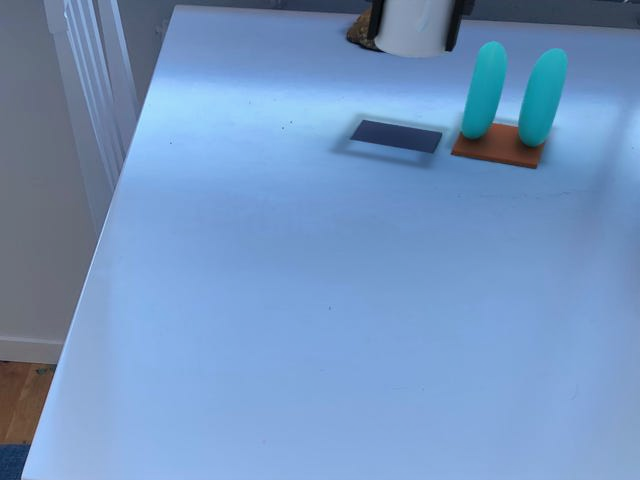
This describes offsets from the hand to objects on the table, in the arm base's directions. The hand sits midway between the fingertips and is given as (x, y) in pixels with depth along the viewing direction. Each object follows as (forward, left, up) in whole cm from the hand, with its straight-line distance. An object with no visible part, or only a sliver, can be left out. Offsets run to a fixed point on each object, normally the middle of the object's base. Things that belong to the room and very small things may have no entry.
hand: (411, 41), depth 105 cm
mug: (0, 0, -1) cm, 1 cm away
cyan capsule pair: (-12, -6, -11) cm, 17 cm away
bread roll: (+9, -40, -11) cm, 43 cm away
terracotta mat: (-12, -6, -11) cm, 18 cm away
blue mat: (0, 0, -11) cm, 11 cm away
